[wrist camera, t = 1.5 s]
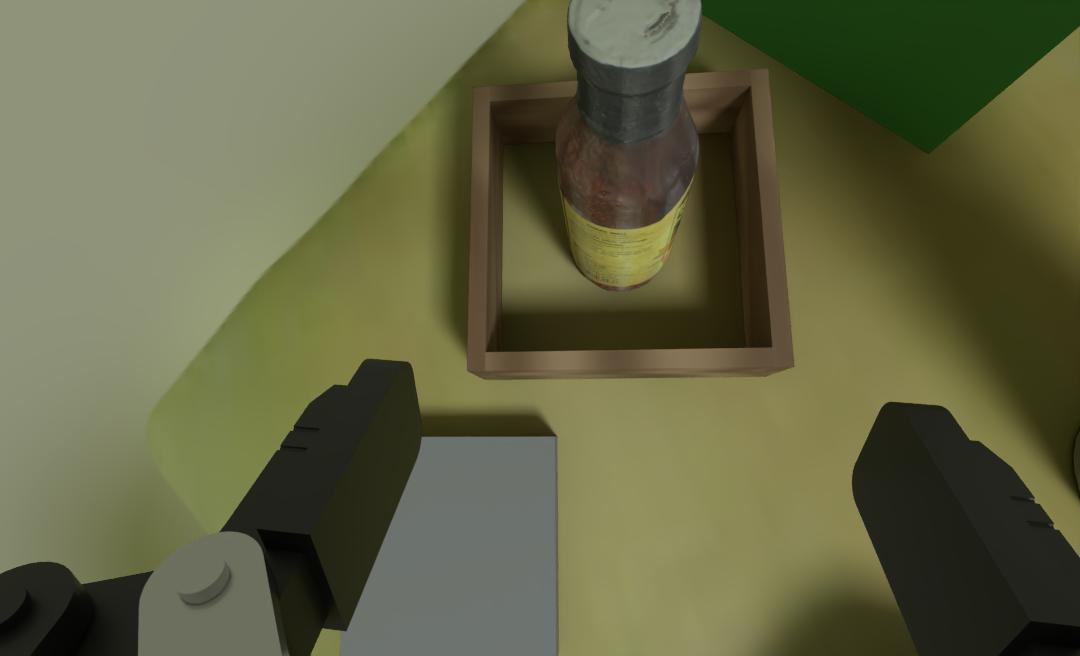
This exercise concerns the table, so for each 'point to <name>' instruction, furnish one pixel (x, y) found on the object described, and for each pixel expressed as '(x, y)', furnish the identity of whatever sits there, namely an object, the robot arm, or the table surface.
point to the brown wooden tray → (748, 117)
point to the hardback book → (904, 52)
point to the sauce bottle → (627, 136)
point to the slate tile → (467, 555)
